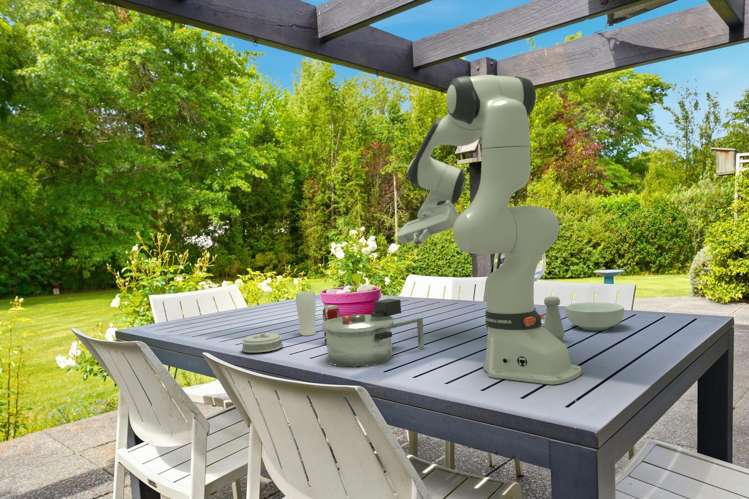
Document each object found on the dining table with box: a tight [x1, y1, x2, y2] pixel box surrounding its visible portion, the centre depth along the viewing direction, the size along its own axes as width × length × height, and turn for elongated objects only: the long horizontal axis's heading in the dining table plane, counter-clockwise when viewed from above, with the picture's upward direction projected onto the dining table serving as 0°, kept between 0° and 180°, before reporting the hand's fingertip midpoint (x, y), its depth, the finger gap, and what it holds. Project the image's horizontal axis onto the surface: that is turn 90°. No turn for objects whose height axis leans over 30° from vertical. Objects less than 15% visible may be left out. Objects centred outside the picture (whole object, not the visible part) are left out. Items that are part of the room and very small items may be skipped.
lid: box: [241, 332, 284, 353], centre depth 162 cm, size 13×13×5 cm
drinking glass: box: [295, 290, 317, 337], centre depth 181 cm, size 7×7×15 cm
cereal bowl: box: [565, 301, 625, 332], centre depth 163 cm, size 17×17×7 cm
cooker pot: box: [326, 317, 425, 367], centre depth 147 cm, size 22×27×9 cm
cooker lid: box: [321, 298, 402, 333], centre depth 145 cm, size 20×25×5 cm
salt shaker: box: [543, 296, 565, 342], centre depth 148 cm, size 6×6×13 cm
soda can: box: [322, 304, 340, 345], centre depth 165 cm, size 5×5×12 cm
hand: (417, 242), depth 154 cm, fingers closed
